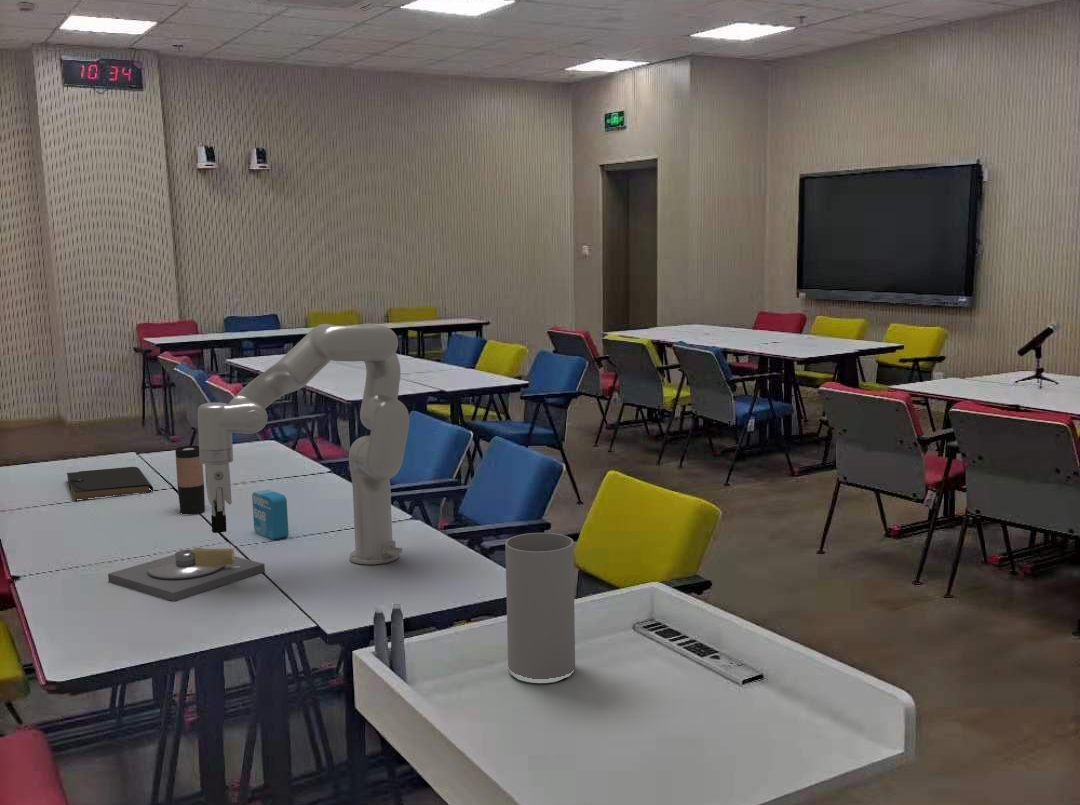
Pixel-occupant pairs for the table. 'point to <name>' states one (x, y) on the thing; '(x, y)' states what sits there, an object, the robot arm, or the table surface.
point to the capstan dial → (191, 563)
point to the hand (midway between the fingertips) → (219, 531)
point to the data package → (270, 514)
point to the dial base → (184, 587)
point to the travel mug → (190, 480)
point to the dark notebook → (108, 482)
